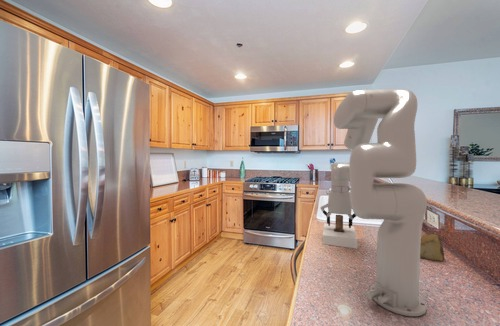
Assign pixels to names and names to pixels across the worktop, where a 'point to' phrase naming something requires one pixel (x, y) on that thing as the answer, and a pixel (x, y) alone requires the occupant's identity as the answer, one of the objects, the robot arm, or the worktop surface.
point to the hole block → (340, 236)
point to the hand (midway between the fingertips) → (339, 226)
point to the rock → (431, 247)
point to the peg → (339, 223)
